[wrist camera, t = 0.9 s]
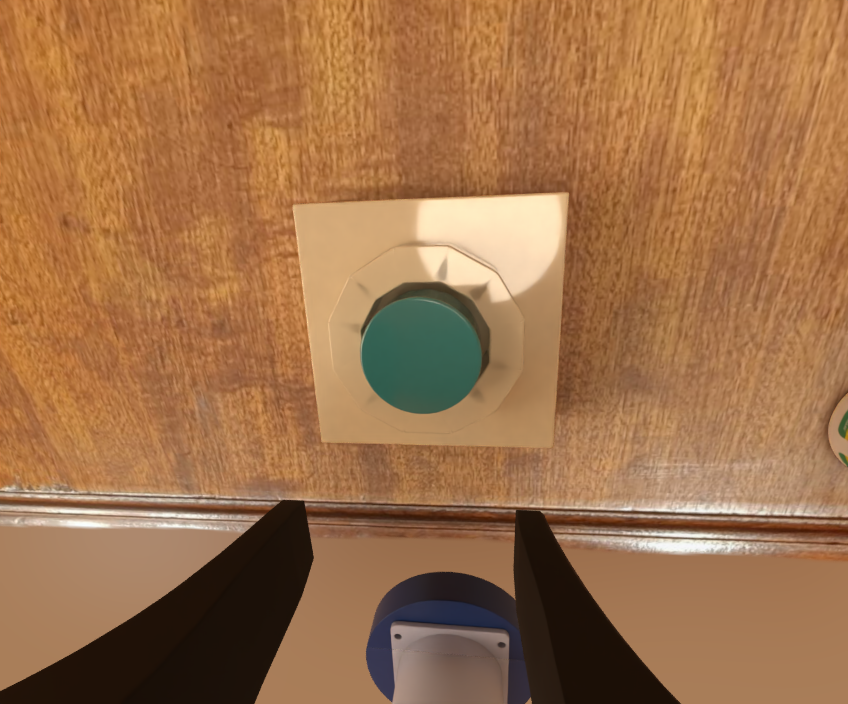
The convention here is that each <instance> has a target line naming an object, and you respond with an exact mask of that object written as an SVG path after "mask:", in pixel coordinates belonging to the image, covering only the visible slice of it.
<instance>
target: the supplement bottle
mask: <svg viewBox="0 0 848 704" xmlns="http://www.w3.org/2000/svg"><path fill="white" fill-rule="evenodd" d="M828 437H829V442H830V445H831V448H832V450H833V452H834V454H835V455H836V457H837V458H838V459H839V460H840V461H841V462H842V463H843V464H844V465H845V466H847V467H848V393H847V394H846V395H845V396H844V397H843V398H842V399H841V401H840V402H839V403H838V405H837V406H836V408H835V410H834V412H833V414H832V416H831V419H830V422H829V428H828Z"/></svg>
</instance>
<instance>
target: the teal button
mask: <svg viewBox="0 0 848 704" xmlns="http://www.w3.org/2000/svg"><path fill="white" fill-rule="evenodd" d="M360 361H361V366H362V370H363V373H364V375H365V378H366V380H367V381H368V383H369V385H370V386H371V388H372V389H373V390H374V392H375V393H376V394H377V395H378V396H379V397H380V398H381V399H383V400H384V401H385V402H386V403H388V404H390V405H391V406H393V407H395V408H397V409H400V410H402V411H406V412H410V413H415V414H431V413H437V412H441V411H444V410H447V409H449V408H451V407H453V406H455V405H456V404H458V403H459V402H461V401H462V400H463V399H464V398H465V397H466V396H467V395H468V394H469V393H470V392H471V390H472V389H473V388H474V386H475V384H476V382H477V380H478V378H479V375H480V371H481V367H482V342H481V333H480V329H479V326H478V323H477V321H476V319H475V317H474V316H473V314H472V313H471V311H470V310H469V309H468V308H467V307H466V306H465V305H464V304H463V303H462V302H461V301H460V300H458V299H457V298H455V297H454V296H452V295H450V294H448V293H445V292H442V291H439V290H434V289H415V290H410V291H407V292H404V293H401V294H400V295H398V296H396V297H394V298H393V299H391V300H390V301H389V302H388V303H387V304H386V305H385V306H384V307H383V308H382V309H381V310H380V311H379V312H378V313H377V314H376V315H375V316H374V317H373V318H372V319H371V321H370V322H369V323H368V325H367V327H366V329H365V331H364V333H363V336H362V340H361V345H360Z"/></svg>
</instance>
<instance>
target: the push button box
mask: <svg viewBox="0 0 848 704" xmlns="http://www.w3.org/2000/svg"><path fill="white" fill-rule="evenodd" d="M568 205H569V193H568V192H553V193H530V194H507V195H484V196H461V197H438V198H415V199H392V200H369V201H346V202H323V203H300V204H294V205H293V212H294V220H295V229H296V237H297V245H298V253H299V261H300V270H301V278H302V286H303V294H304V302H305V311H306V319H307V327H308V335H309V343H310V352H311V360H312V368H313V376H314V384H315V393H316V401H317V409H318V417H319V426H320V434H321V441H322V442H327V443H365V444H403V445H441V446H479V447H517V448H553V446H554V432H555V415H556V399H557V383H558V367H559V351H560V335H561V318H562V302H563V286H564V270H565V254H566V238H567V221H568ZM415 289H434V290H439V291H442V292H445V293H448V294H450V295H452V296H454V297H455V298H457V299H458V300H460V301H461V302H462V303H463V304H464V305H465V306H466V307H467V308H468V309H469V310H470V311H471V313H472V314H473V316H474V317H475V319H476V321H477V323H478V326H479V329H480V333H481V342H482V367H481V371H480V375H479V378H478V380H477V382H476V384H475V386H474V388H473V389H472V390H471V392H470V393H469V394H468V395H467V396H466V397H465V398H464V399H463V400H462V401H461V402H459V403H458V404H456V405H455V406H453V407H451V408H449V409H447V410H444V411H441V412H437V413H431V414H415V413H410V412H406V411H402V410H400V409H397V408H395V407H393V406H391V405H390V404H388V403H386V402H385V401H384V400H383V399H381V398H380V397H379V396H378V395H377V394H376V393H375V392H374V390H373V389H372V388H371V386H370V385H369V383H368V381H367V380H366V378H365V375H364V373H363V370H362V366H361V361H360V345H361V340H362V336H363V333H364V331H365V329H366V327H367V325H368V323H369V322H370V321H371V319H372V318H373V317H374V316H375V315H376V314H377V313H378V312H379V311H380V310H381V309H382V308H383V307H384V306H385V305H386V304H387V303H388V302H389V301H390V300H391V299H393V298H394V297H396V296H398V295H400V294H401V293H404V292H407V291H410V290H415Z"/></svg>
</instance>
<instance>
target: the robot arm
mask: <svg viewBox="0 0 848 704" xmlns="http://www.w3.org/2000/svg"><path fill="white" fill-rule="evenodd" d="M313 559H314V556H313V550H312V544H311V539H310V533H309V527H308V521H307V515H306V510H305V504H304V501H298V500H282V501H281V502H280V503H279V504H277V505H276V506H275V507H274V508H273V509H272V510H270V511H269V512H268V513H267V514H266V515H265V516H263V517H262V518H261V519H260V520H259V521H258V522H256V523H255V524H254V525H253V526H252V527H251V528H250V529H248V530H247V531H246V532H245V533H244V534H243V535H241V536H240V537H239V538H238V539H237V540H235V541H234V542H233V543H232V544H231V545H229V546H228V547H227V548H226V549H225V550H224V551H222V552H221V553H220V554H219V555H218V556H216V557H215V558H214V559H212V560H211V561H210V562H208V563H207V564H206V565H205V566H203V567H202V568H201V569H200V570H198V571H197V572H196V573H194V574H193V575H192V576H191V577H189V578H188V579H187V580H185V581H184V582H183V583H181V584H180V585H179V586H177V587H176V588H175V589H174V590H172V591H170V592H169V593H168V594H166V595H165V596H164V597H162V598H161V599H159V600H158V601H156V602H155V603H153V604H152V605H150V606H149V607H147V608H146V609H144V610H143V611H141V612H140V613H138V614H137V615H136V616H134V617H132V618H131V619H129V620H127V621H126V622H124V623H123V624H121V625H119V626H118V627H116V628H114V629H113V630H111V631H109V632H108V633H106V634H105V635H103V636H101V637H99V638H98V639H96V640H94V641H93V642H91V643H89V644H88V645H86V646H85V647H83V648H81V649H79V650H78V651H76V652H74V653H72V654H71V655H69V656H67V657H65V658H63V659H61V660H59V661H58V662H56V663H54V664H52V665H50V666H48V667H47V668H45V669H43V670H41V671H39V672H37V673H35V674H33V675H31V676H29V677H27V678H26V679H24V680H22V681H20V682H18V683H16V684H14V685H12V686H10V687H8V688H6V689H4V690H2V691H0V704H254V703H255V701H256V698H257V696H258V694H259V691H260V689H261V686H262V684H263V682H264V679H265V677H266V675H267V673H268V670H269V668H270V666H271V664H272V662H273V659H274V657H275V655H276V653H277V651H278V648H279V646H280V644H281V642H282V639H283V637H284V635H285V633H286V631H287V628H288V626H289V624H290V622H291V619H292V617H293V615H294V613H295V610H296V608H297V606H298V603H299V601H300V599H301V597H302V594H303V591H304V588H305V584H306V582H307V578H308V575H309V572H310V569H311V565H312V562H313ZM514 582H515V598H516V611H517V617H518V623H519V629H520V635H521V641H522V647H523V653H524V659H525V665H526V671H527V677H528V683H529V688H530V694H531V700H532V704H681V703H680V702H679V701H678V700H677V699H676V698H675V697H674V696H673V695H672V694H671V693H670V692H669V691H668V690H667V689H666V688H665V687H664V686H663V684H662V683H661V682H660V681H659V680H658V679H657V678H656V677H655V675H654V674H653V673H652V672H651V671H650V670H649V669H648V667H647V666H646V665H645V664H644V663H643V662H642V660H641V659H640V658H639V657H638V656H637V655H636V653H635V652H634V651H633V650H632V648H631V647H630V646H629V645H628V644H627V642H626V641H625V640H624V639H623V637H622V636H621V635H620V634H619V632H618V631H617V630H616V628H615V627H614V626H613V625H612V623H611V622H610V621H609V619H608V618H607V617H606V615H605V614H604V612H603V611H602V610H601V608H600V607H599V606H598V604H597V603H596V601H595V600H594V599H593V597H592V596H591V594H590V593H589V591H588V590H587V589H586V587H585V586H584V584H583V582H582V581H581V579H580V578H579V576H578V575H577V573H576V572H575V570H574V568H573V567H572V565H571V564H570V562H569V561H568V559H567V557H566V556H565V554H564V552H563V550H562V549H561V547H560V545H559V543H558V542H557V540H556V538H555V536H554V534H553V533H552V531H551V529H550V527H549V525H548V523H547V521H546V518H545V516H544V515H543V514H542V513H541V512H540V511H527V510H516V521H515V546H514ZM391 643H392V656H393V668H394V681H395V690H394V695H393V701H392V704H507V696H508V664H509V633H508V632H507V631H506V630H504V629H498V628H485V627H471V626H458V625H445V624H432V623H419V622H406V621H395V622H393V623H392V625H391Z"/></svg>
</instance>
